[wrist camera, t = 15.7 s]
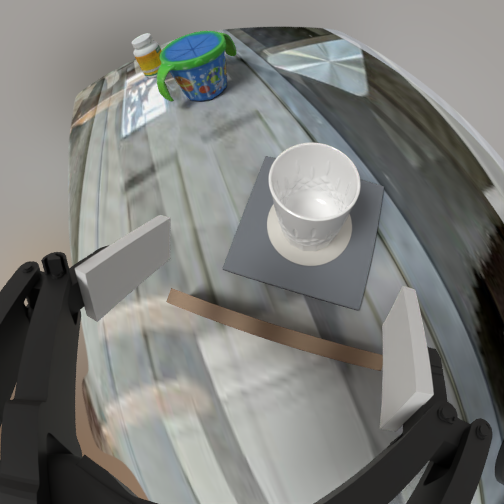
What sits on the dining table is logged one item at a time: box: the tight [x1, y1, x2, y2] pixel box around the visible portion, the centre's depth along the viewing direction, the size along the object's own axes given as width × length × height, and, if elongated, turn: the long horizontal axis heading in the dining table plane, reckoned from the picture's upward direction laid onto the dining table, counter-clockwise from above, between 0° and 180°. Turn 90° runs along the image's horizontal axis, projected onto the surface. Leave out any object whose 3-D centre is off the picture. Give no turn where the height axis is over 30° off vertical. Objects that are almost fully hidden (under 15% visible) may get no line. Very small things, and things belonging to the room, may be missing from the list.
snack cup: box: [157, 31, 236, 101], centre depth 39 cm, size 16×11×10 cm
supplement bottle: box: [132, 33, 162, 78], centre depth 44 cm, size 5×5×10 cm
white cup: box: [269, 143, 360, 251], centre depth 28 cm, size 8×8×10 cm
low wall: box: [167, 288, 383, 371], centre depth 28 cm, size 22×2×5 cm, turn 71°
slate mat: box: [223, 156, 384, 310], centre depth 33 cm, size 16×16×1 cm
